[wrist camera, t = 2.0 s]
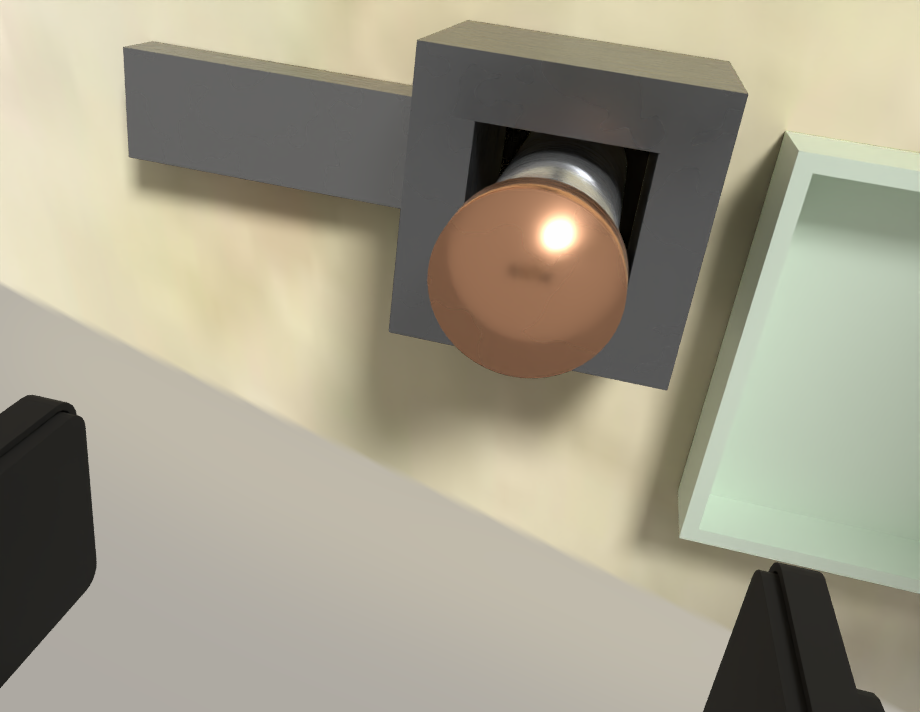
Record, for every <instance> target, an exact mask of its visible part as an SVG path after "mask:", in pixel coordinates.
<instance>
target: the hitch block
mask: <svg viewBox="0 0 920 712" xmlns="http://www.w3.org/2000/svg"><path fill="white" fill-rule="evenodd" d="M123 53H124V72H125V91H126V110H127V129H128V148H129V157H131V158H137V159H142V160H147V161H152V162H158V163H163V164H168V165H173V166H179V167H184V168H189V169H195V170H200V171H205V172H210V173H216V174H221V175H226V176H231V177H237V178H242V179H247V180H252V181H258V182H263V183H268V184H273V185H279V186H284V187H289V188H295V189H300V190H305V191H310V192H316V193H321V194H326V195H331V196H337V197H342V198H347V199H352V200H358V201H363V202H368V203H373V204H379V205H384V206H389V207H395V208H400V209H401V211H400V222H399V232H398V242H397V252H396V263H395V273H394V283H393V293H392V304H391V314H390V324H389V332H391V333H396V334H401V335H405V336H410V337H415V338H420V339H424V340H429V341H434V342H439V343H443V344H448V345H453V346H455V345H454V344H453V343H452V342H451V341H450V340H449V339H448V337H447V336H446V334H445V333H444V331H443V330H442V329H441V327H440V325H439V323H438V321H437V319H436V317H435V315H434V312H433V309H432V307H431V303H430V299H429V294H428V284H427V277H428V266H429V261H430V256H431V253H432V250H433V247H434V245H435V243H436V241H437V239H438V237H439V235H440V233H441V232H442V231H443V229H444V228H445V226H446V225H447V224H448V222H449V221H450V220H451V218H452V217H453V216H454V214H455V213H456V212H457V210H458V209H459V208H460V207H461V206H462V205H463V204H464V203H465V202H466V201H467V200H468V199H470V198H471V197H472V196H473V195H474V194H476V193H478V192H479V191H481V190H482V189H484V188H486V187H488V186H490V185H493V184H495V183H496V182H497V181H498V179H499V175H500V168H501V161H502V155H503V148H504V141H505V135H506V128H507V127H511V128H517V129H523V130H529V131H534V132H540V133H546V134H552V135H557V136H563V137H569V138H575V139H580V140H586V141H592V142H598V143H603V144H609V145H615V146H621V147H626V148H632V149H638V150H644V151H649V152H650V153H649V157H648V161H647V166H646V170H645V174H644V179H643V183H642V188H641V192H640V196H639V201H638V205H637V209H636V214H635V218H634V222H633V227H632V231H631V236H630V240H629V244H628V249H627V250H626V252H627V258H628V266H629V268H628V287H627V297H626V303H625V309H624V312H623V315H622V318H621V321H620V323H619V325H618V327H617V330H616V332H615V333H614V335H613V336H612V338H611V339H610V341H609V342H608V343H607V344H606V345H605V347H604V348H603V349H602V350H601V351H600V352H599V353H598V354H596V355H595V356H594V357H593V358H592V359H590V360H589V361H587V362H586V363H584V364H583V365H581V366H579V367H577V368H575V369H573V370H572V371H577V372H581V373H586V374H591V375H596V376H601V377H605V378H610V379H615V380H620V381H624V382H629V383H634V384H639V385H643V386H648V387H653V388H658V389H662V390H667V389H668V386H669V382H670V378H671V375H672V371H673V367H674V364H675V360H676V356H677V353H678V349H679V345H680V342H681V338H682V334H683V331H684V327H685V324H686V320H687V316H688V313H689V309H690V305H691V302H692V298H693V294H694V291H695V287H696V283H697V280H698V276H699V272H700V269H701V265H702V261H703V258H704V254H705V250H706V247H707V243H708V240H709V236H710V232H711V229H712V225H713V221H714V218H715V214H716V210H717V207H718V203H719V199H720V196H721V192H722V188H723V185H724V181H725V177H726V174H727V170H728V167H729V163H730V159H731V156H732V152H733V148H734V145H735V141H736V137H737V134H738V130H739V126H740V123H741V119H742V115H743V112H744V108H745V104H746V101H747V97H748V92H747V91H746V89H745V87H744V86H743V84H742V82H741V81H740V79H739V77H738V75H737V74H736V72H735V70H734V69H733V67H732V65H731V63H730V62H729V61H723V60H716V59H710V58H704V57H697V56H691V55H685V54H678V53H672V52H666V51H660V50H653V49H647V48H641V47H634V46H628V45H622V44H615V43H609V42H603V41H596V40H590V39H584V38H577V37H571V36H565V35H558V34H552V33H546V32H540V31H533V30H527V29H521V28H514V27H508V26H502V25H495V24H489V23H483V22H476V21H470V20H467V21H464V22H462V23H459V24H457V25H454V26H452V27H449V28H447V29H444V30H442V31H439V32H436V33H434V34H431V35H429V36H426V37H424V38H421V39H419V40H417V47H416V57H415V67H414V78H413V86H412V85H406V84H400V83H394V82H388V81H382V80H376V79H370V78H365V77H359V76H353V75H347V74H341V73H335V72H329V71H323V70H318V69H312V68H306V67H300V66H294V65H288V64H282V63H276V62H271V61H265V60H259V59H253V58H247V57H241V56H235V55H229V54H224V53H218V52H212V51H206V50H200V49H194V48H188V47H182V46H177V45H171V44H165V43H159V42H153V41H152V42H147V43H142V44H136V45H131V46H126V47H123Z"/></svg>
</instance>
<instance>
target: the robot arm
mask: <svg viewBox="0 0 920 712" xmlns="http://www.w3.org/2000/svg"><path fill="white" fill-rule="evenodd" d="M85 429H86V428H85V422H84V420H83V418H82V417H80V416H78V415H76V410H75V409H74V407H73V405H71V404H69V403H67V402H62V401H58V400H53V399H49V398H44V397H40V396H35V395H27V396H25V397H23V398H21V399H20V400H19V401H17V402H16V403H14V404H13V405H12V406H10V407H9V408H7V409H6V410H5V411H3V412H2V413H1V414H0V688H1V687H2V686H3V684H4V683H5V682H6V681H7V680H8V679H9V678H10V676H11V675H12V674H13V673H14V672H15V671H16V670H17V669H18V667H19V666H20V665H21V664H22V663H23V662H24V661H25V659H26V658H27V657H28V656H29V655H30V654H31V652H32V651H33V650H34V649H35V648H36V647H37V646H38V645H39V644H40V642H41V641H42V640H43V639H44V638H45V637H46V636H47V634H48V633H49V632H50V631H51V630H52V629H53V628H54V626H55V625H56V624H57V623H58V622H59V621H60V620H61V618H62V617H63V616H64V615H65V614H66V613H67V612H68V611H69V609H70V608H71V607H72V606H73V605H74V604H75V603H76V601H77V600H78V599H79V598H80V597H81V596H82V595H83V594H84V592H85V591H86V590H87V589H88V587H89V586H90V584H91V582H92V580H93V578H94V575H95V571H96V549H95V537H94V526H93V515H92V514H93V513H92V501H91V490H90V476H89V465H88V453H87V441H86V430H85ZM703 712H885V711H884V708H883V706H882V704H881V702H880V699H879V698H878V697H877V696H876V695H875V694H874V693H871V692H867V691H863V690H859V689H856V686H855V683H854V679H853V675H852V672H851V668H850V665H849V661H848V658H847V654H846V651H845V647H844V644H843V640H842V637H841V633H840V630H839V626H838V623H837V619H836V616H835V612H834V609H833V605H832V602H831V598H830V595H829V591H828V588H827V584H826V581H825V578H824V576H823V574H822V573H820V572H818V571H813V570H809V569H804V568H800V567H796V566H791V565H787V564H782V563H778V562H777V563H774V564H773V565H772V566H771V568H770V570H769V572H766V571H762V570H756V572H755V573H754V575H753V577H752V579H751V582H750V585H749V587H748V590H747V593H746V596H745V598H744V601H743V604H742V607H741V609H740V612H739V615H738V618H737V620H736V623H735V626H734V628H733V631H732V634H731V637H730V639H729V642H728V645H727V648H726V650H725V653H724V656H723V659H722V661H721V664H720V667H719V670H718V672H717V675H716V678H715V680H714V683H713V686H712V689H711V691H710V695H709V697H708V700H707V702H706V705H705V708H704V711H703Z"/></svg>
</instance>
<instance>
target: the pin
mask: <svg viewBox="0 0 920 712" xmlns="http://www.w3.org/2000/svg"><path fill="white" fill-rule="evenodd" d="M626 177H627V158H626V154H625V150H624V148H623V147H621V146H615V145H609V144H603V143H598V142H592V141H586V140H580V139H575V138H569V137H563V136H557V135H552V134H546V133H540V132H534V131H532V132H531V133H530V134H529V136H528V137H527V139H526V140H525V142H524V143H523V144H522V146H521V147H520V149H519V150H518V152H517V153H516V155H515V156H514V157H513V159H512V160H511V162H510V163H509V165H508V166H507V168H506V169H505V170H504V172H503V173H502V175H501V176H500V178H499V179H498V181H497V182H496V183H495V184H493V185H490V186H488V187H486V188H484V189H482V190H481V191H479V192H478V193H476V194H474V195H473V196H472V197H471V198H470V199H468V200H467V201H466V202H465V203H464V204H463V205H462V206H461V207H460V208H459V209H458V210H457V212H456V213H455V214H454V216H453V217H452V218H451V220H450V221H449V222H448V224H447V225H446V226H445V228H444V229H443V231H442V232H441V233H440V235H439V237H438V239H437V241H436V243H435V245H434V247H433V250H432V253H431V256H430V261H429V266H428V277H427V284H428V294H429V299H430V303H431V307H432V309H433V312H434V315H435V317H436V319H437V321H438V323H439V325H440V327H441V329H442V330H443V331H444V333H445V334H446V336H447V337H448V339H449V340H450V341H451V342H452V343H453V344H454V345H455V346H456V347H457V348H458V349H459V350H460V351H461V352H462V353H463V354H464V355H466V356H467V357H468V358H470V359H471V360H473V361H474V362H476V363H478V364H479V365H481V366H483V367H485V368H487V369H490V370H492V371H495V372H497V373H500V374H504V375H508V376H513V377H520V378H544V377H550V376H555V375H559V374H562V373H565V372H568V371H571V370H573V369H575V368H577V367H579V366H581V365H583V364H584V363H586V362H587V361H589V360H590V359H592V358H593V357H594V356H595V355H596V354H598V353H599V352H600V351H601V350H602V349H603V348H604V347H605V345H606V344H607V343H608V342H609V341H610V339H611V338H612V336H613V335H614V333H615V332H616V330H617V327H618V325H619V323H620V321H621V318H622V315H623V312H624V309H625V303H626V297H627V287H628V268H629V266H628V258H627V252H626V248H625V245H624V241H623V239H622V237H621V234H620V232H619V225H620V218H621V211H622V205H623V198H624V191H625V184H626Z"/></svg>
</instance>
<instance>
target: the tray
mask: <svg viewBox="0 0 920 712" xmlns="http://www.w3.org/2000/svg"><path fill="white" fill-rule="evenodd" d="M678 518H679V538H682V539H686V540H690V541H694V542H699V543H703V544H707V545H712V546H716V547H720V548H725V549H729V550H733V551H738V552H742V553H746V554H750V555H755V556H759V557H763V558H768V559H772V560H776V561H781V562H785V563H789V564H794V565H798V566H802V567H806V568H811V569H815V570H819V571H824V572H828V573H832V574H837V575H841V576H845V577H850V578H854V579H858V580H862V581H867V582H871V583H875V584H880V585H884V586H888V587H893V588H897V589H901V590H906V591H910V592H914V593H919V594H920V153H915V152H909V151H903V150H898V149H892V148H886V147H880V146H874V145H868V144H862V143H856V142H850V141H844V140H838V139H832V138H826V137H820V136H814V135H808V134H802V133H796V132H790V131H785V134H784V138H783V141H782V144H781V148H780V151H779V154H778V158H777V161H776V164H775V168H774V171H773V174H772V178H771V181H770V185H769V188H768V191H767V195H766V198H765V201H764V205H763V208H762V211H761V215H760V218H759V221H758V225H757V228H756V231H755V235H754V238H753V241H752V245H751V248H750V251H749V255H748V258H747V261H746V265H745V268H744V271H743V275H742V278H741V281H740V285H739V288H738V291H737V295H736V298H735V301H734V305H733V308H732V312H731V315H730V318H729V322H728V325H727V328H726V332H725V335H724V338H723V342H722V345H721V348H720V352H719V355H718V358H717V362H716V365H715V368H714V372H713V375H712V378H711V382H710V385H709V388H708V392H707V395H706V398H705V402H704V405H703V408H702V412H701V415H700V418H699V422H698V425H697V428H696V432H695V435H694V439H693V442H692V445H691V449H690V452H689V455H688V459H687V462H686V465H685V469H684V472H683V475H682V479H681V482H680V485H679V489H678Z"/></svg>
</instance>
